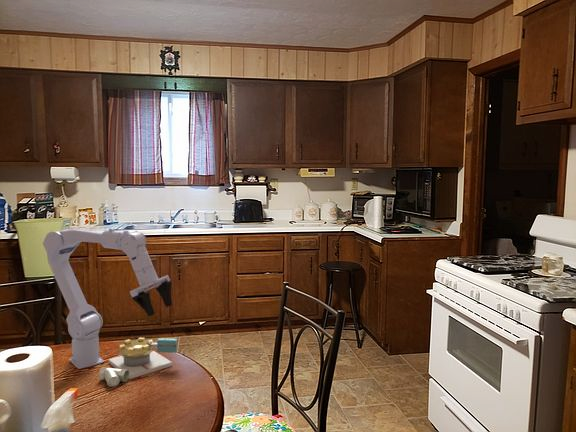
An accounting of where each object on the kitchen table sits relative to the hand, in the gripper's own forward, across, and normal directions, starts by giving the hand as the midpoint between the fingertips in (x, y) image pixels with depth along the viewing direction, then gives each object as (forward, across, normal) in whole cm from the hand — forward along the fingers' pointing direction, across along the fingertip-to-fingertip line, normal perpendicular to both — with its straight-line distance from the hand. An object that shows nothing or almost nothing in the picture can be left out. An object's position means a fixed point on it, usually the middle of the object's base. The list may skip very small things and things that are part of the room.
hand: (160, 310), depth 139 cm
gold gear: (+11, -1, +12) cm, 16 cm away
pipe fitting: (+14, -15, +14) cm, 25 cm away
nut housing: (+14, -3, +16) cm, 22 cm away
